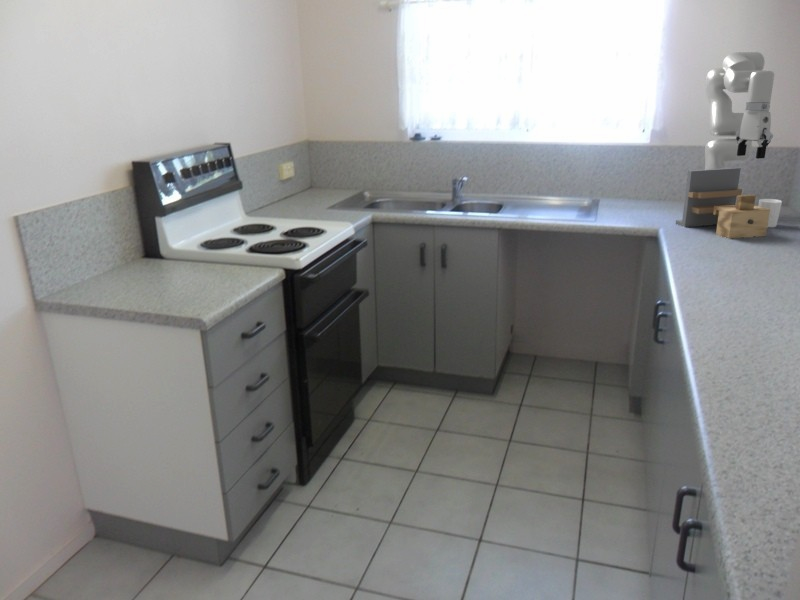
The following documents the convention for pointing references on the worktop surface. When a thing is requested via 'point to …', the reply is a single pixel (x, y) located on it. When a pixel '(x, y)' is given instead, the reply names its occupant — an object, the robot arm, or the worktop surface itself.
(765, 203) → the white cup
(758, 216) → the wooden box
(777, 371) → the worktop surface
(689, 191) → the wall board
